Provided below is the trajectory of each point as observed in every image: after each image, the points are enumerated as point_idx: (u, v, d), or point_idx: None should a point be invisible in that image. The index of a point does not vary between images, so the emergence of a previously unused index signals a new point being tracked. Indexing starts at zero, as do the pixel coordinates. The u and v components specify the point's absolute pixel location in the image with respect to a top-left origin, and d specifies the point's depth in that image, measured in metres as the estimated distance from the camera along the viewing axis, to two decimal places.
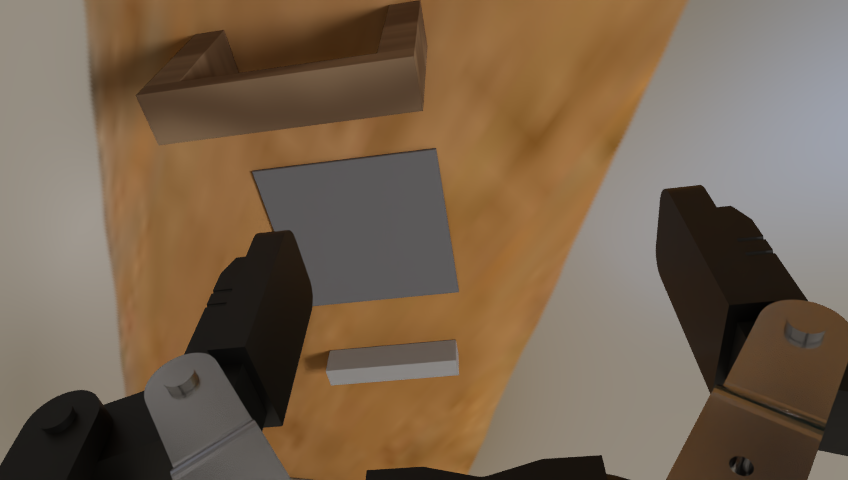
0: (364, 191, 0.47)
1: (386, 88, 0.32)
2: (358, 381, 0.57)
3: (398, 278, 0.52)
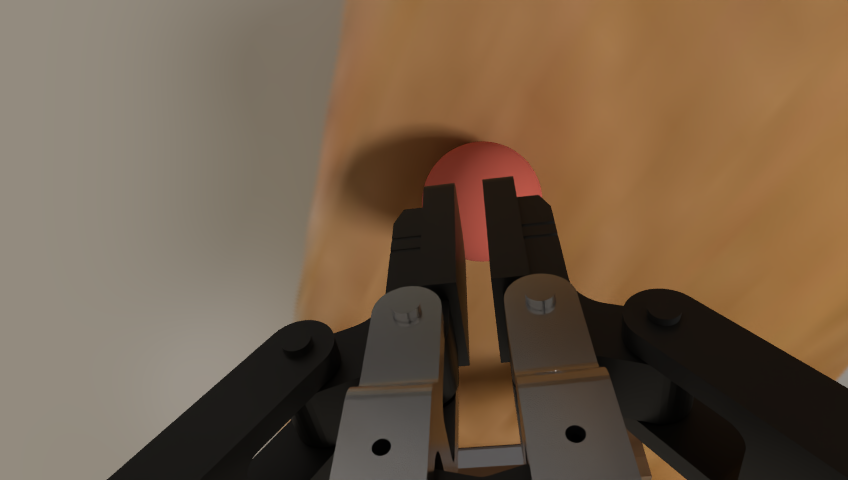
0: None
1: None
2: None
3: None
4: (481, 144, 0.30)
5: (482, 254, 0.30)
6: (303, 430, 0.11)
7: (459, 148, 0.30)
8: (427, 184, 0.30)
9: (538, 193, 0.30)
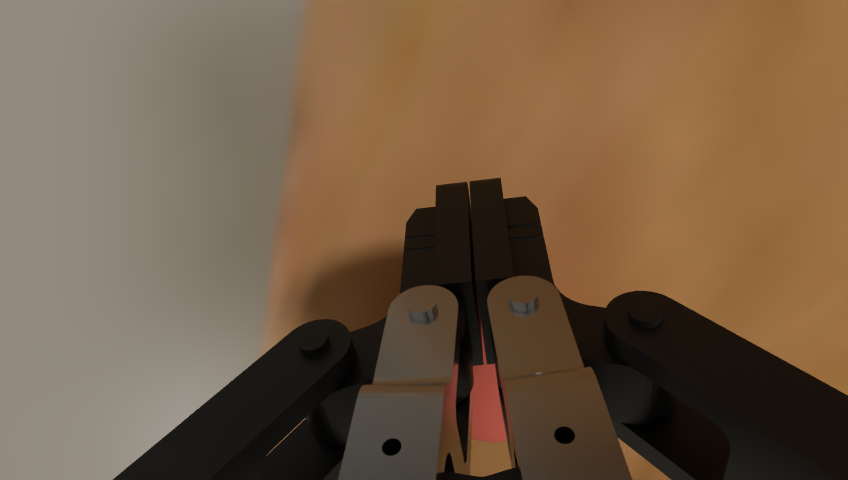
0: None
1: None
2: None
3: None
4: None
5: (493, 440, 0.21)
6: (319, 430, 0.10)
7: None
8: None
9: None
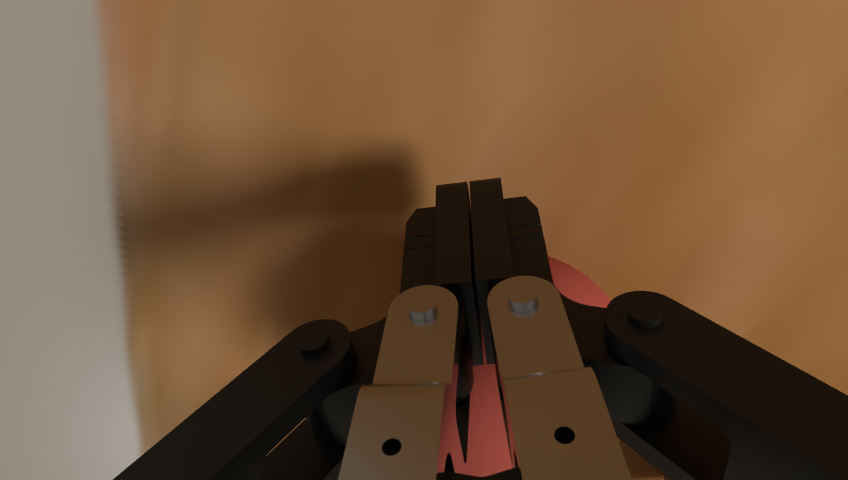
0: None
1: None
2: None
3: None
4: None
5: None
6: (319, 430, 0.10)
7: (496, 471, 0.14)
8: None
9: None
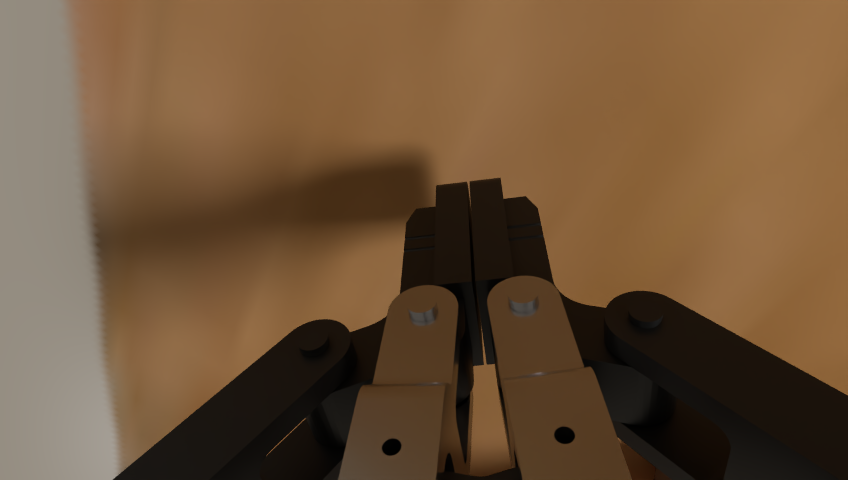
0: None
1: None
2: None
3: None
4: None
5: None
6: (319, 430, 0.10)
7: None
8: None
9: None
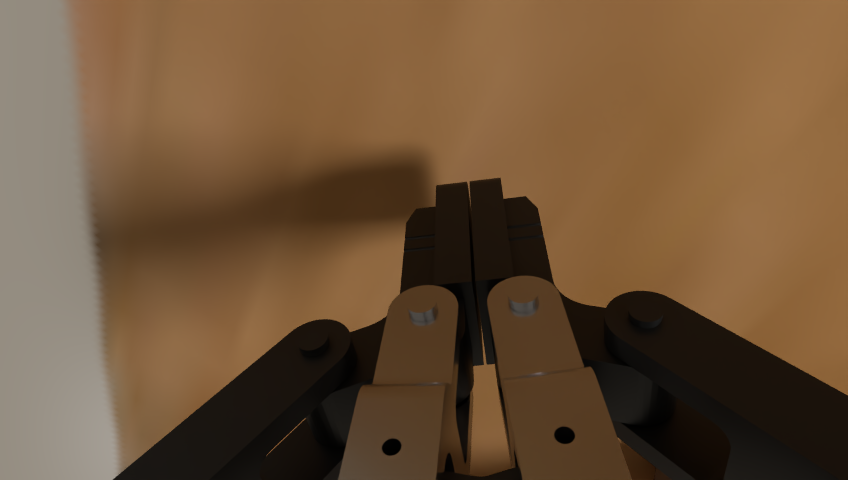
0: None
1: None
2: None
3: None
4: None
5: None
6: (319, 430, 0.10)
7: None
8: None
9: None
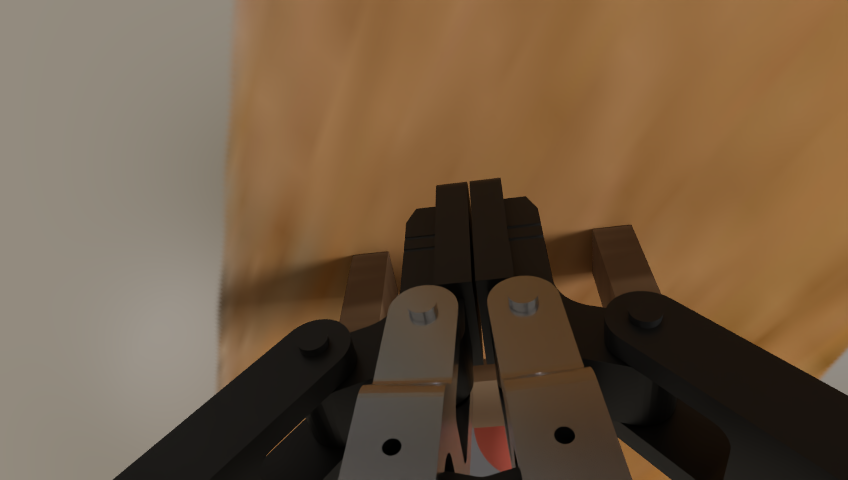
0: None
1: None
2: None
3: None
4: None
5: None
6: (318, 430, 0.10)
7: None
8: (486, 459, 0.37)
9: None
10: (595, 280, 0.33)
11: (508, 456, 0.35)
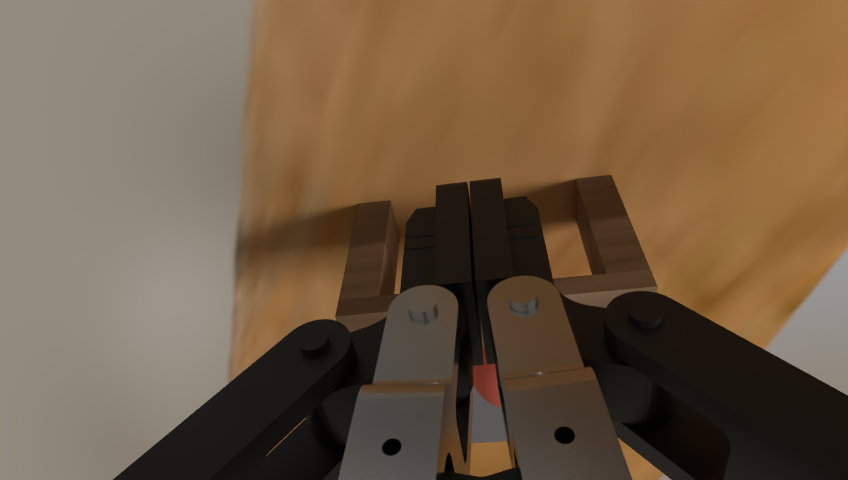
0: None
1: None
2: None
3: None
4: None
5: None
6: (319, 430, 0.10)
7: None
8: None
9: None
10: (578, 226, 0.37)
11: None
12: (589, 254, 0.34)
